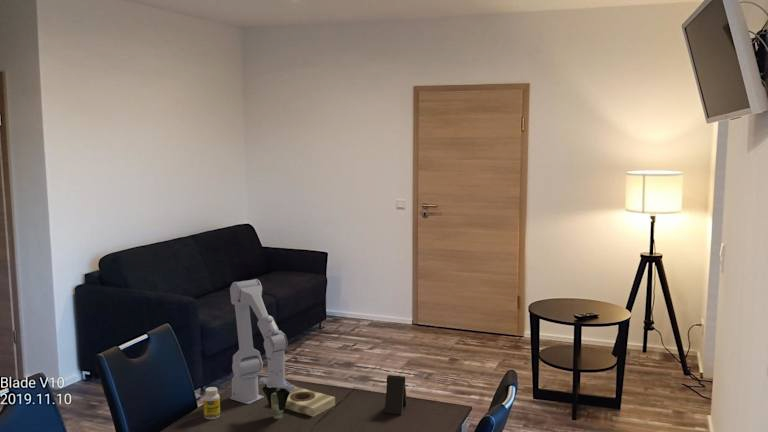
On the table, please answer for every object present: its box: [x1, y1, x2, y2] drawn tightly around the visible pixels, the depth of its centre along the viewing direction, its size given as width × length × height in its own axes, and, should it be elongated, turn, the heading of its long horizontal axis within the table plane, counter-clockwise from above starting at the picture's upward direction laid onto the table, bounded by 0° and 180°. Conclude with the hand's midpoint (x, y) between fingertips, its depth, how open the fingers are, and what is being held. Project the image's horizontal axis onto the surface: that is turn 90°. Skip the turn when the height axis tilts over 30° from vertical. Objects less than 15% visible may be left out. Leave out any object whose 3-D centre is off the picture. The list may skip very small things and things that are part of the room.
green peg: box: [271, 393, 284, 420], centre depth 228 cm, size 4×4×8 cm
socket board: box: [284, 386, 336, 418], centre depth 239 cm, size 20×12×3 cm, turn 56°
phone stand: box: [384, 374, 408, 416], centre depth 234 cm, size 9×6×12 cm, turn 165°
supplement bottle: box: [203, 386, 221, 420], centre depth 228 cm, size 5×5×10 cm
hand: (277, 408), depth 228 cm, fingers closed on green peg, 4 cm apart
